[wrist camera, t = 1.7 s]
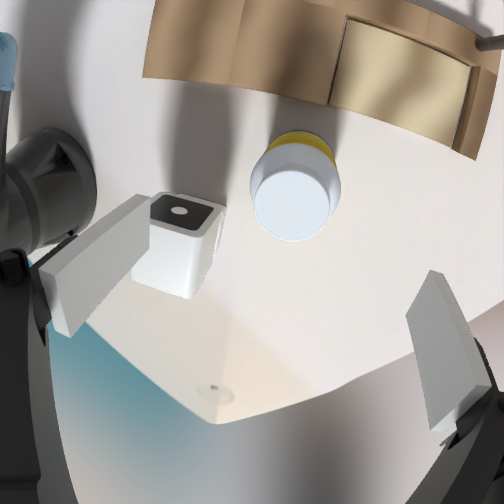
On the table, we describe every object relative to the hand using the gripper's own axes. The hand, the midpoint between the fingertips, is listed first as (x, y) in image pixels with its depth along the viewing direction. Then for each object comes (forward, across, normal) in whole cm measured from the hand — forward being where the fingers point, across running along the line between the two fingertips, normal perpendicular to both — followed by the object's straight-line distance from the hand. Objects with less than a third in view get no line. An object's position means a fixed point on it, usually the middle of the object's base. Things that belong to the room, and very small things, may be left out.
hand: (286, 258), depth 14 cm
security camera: (+18, -9, -8) cm, 22 cm away
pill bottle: (+18, 0, 0) cm, 18 cm away
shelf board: (+18, 0, +12) cm, 21 cm away
